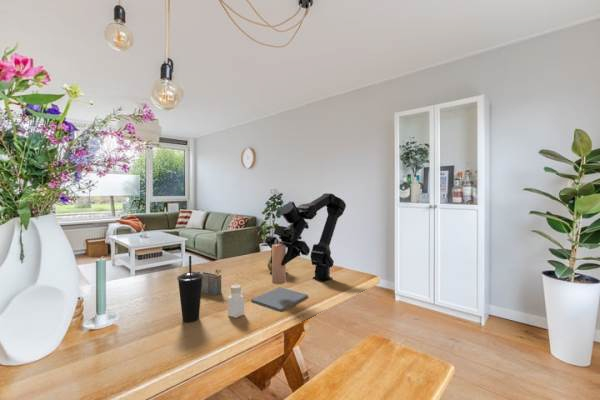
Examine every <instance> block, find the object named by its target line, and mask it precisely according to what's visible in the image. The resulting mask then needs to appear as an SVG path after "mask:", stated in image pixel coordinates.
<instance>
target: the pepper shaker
mask: <svg viewBox="0 0 600 400" xmlns="http://www.w3.org/2000/svg"><path fill="white" fill-rule="evenodd" d="M241 290H242V286H241V285H240V284H233V285H231V286H230V295H229V296H228V297H227V316H229V317H231V318H235V319H236V318H239V317H241V316H243V315H244V314H245V296H244V295H242V294H241V293H242V291H241Z"/></svg>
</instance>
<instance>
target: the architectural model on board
mask: <svg viewBox="0 0 600 400" xmlns="http://www.w3.org/2000/svg"><path fill="white" fill-rule="evenodd" d="M197 272H198V273H201V271H197ZM221 272H222V269H218V268H216V269H215V273H212V272H205V271H202V274H203V278H202V288H201V293H203V294H208V295H212V296H213V295H214V296H218V295H220V294H222V274H220V273H221ZM219 274H220V275H219Z"/></svg>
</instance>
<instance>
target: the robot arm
mask: <svg viewBox="0 0 600 400" xmlns="http://www.w3.org/2000/svg"><path fill="white" fill-rule="evenodd" d="M324 207H326V212H327V217H326V221H325V223H324V226H323V230H322V232H321V236H320V238H319V242H318V243H314V244H313V245H312V249H311V248H310V247H309V246H308V244H307V242H306V241H305V240H302V234H303V232H304V230H305V229H307V230H308V229H309V227H310V226H309V225H308V221H306V220H313V219H314V218H315V217H316V216H317V212H318V211H320V210H321V209H323V208H324ZM346 208H347V204H346V202H345V201H344V200H343V199H342V198H340V197H338V196H336V195H335V194H333V193H328V192H327V193H325V192H324V193H323V194H322V195H321V196H319V197H318V198H316V199H314V200H312V201H310V202H308V203H303V204H299V205H297V206H296V204H295V202H294V201H288V203H286V204H284V205H283V206H281V207H280V209H279V213H280V214H281V215H282V217H283V218H284V220H285V221H286V223H288V224H289V225H287V226H284V225H275V228H274V231H273V235H277V236H278V238H279V239H278V238H277V237H276V236H271V235H268V236H266V238H265V240H264V242H265V243H266V245H268V247H269V248H270V249H272V245H273V244H285V248H287V251H286V255H285V257H284V259H283V260H282V263H281V265H282V266H284V265H285V264H287V263H289V262H291V261H293V259H294V260H295V258H297V257H301V255H302V256H309V254H310V262H311V265H312V266H315V270H314V276H313V277H312V279H314V280H316V281H317V280H318V281H321V282H326V281H330V280H332V279H333V277H331V276H330V272H331V269H330V268H332V267H333V266H334V264H335V263H334V260H333V258H332V256H331V253H332V252H331V248H330V247H331V246H330V245H331V241H332V238H333V236H334V232H335V229H336V226H337V222H338V219H339V218H340V217H341V216H343V214H344V212H345V209H346ZM270 258H271V260H270V263H272V254H271V256H270Z"/></svg>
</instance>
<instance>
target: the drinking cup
mask: <svg viewBox="0 0 600 400" xmlns="http://www.w3.org/2000/svg"><path fill="white" fill-rule="evenodd" d="M198 272H199V271H192V256H191V255H189V256H188V271H187V272H183V273H182V274H180V275H179V276H177V277H176V278H177V281H178V290H179V299H180V308H181V309H180V310H181V319H182V322H184V323H193V322H196V321H197V320H198V321H199V318H200V309H201V298H202V292H201V288H202V278H203V273H201V272H200V273H198Z"/></svg>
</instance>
